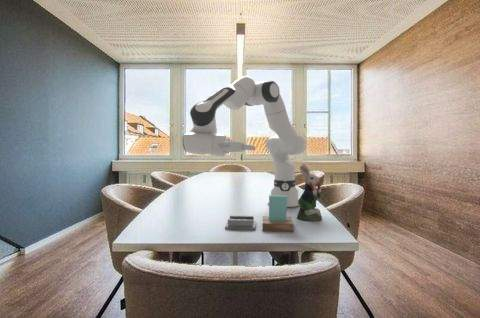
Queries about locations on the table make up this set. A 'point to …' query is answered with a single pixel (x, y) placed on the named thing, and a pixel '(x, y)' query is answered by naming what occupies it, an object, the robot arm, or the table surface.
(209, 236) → the table surface
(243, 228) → the rack
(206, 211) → the table surface
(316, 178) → the figurine
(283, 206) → the sign block
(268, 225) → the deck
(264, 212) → the table surface
